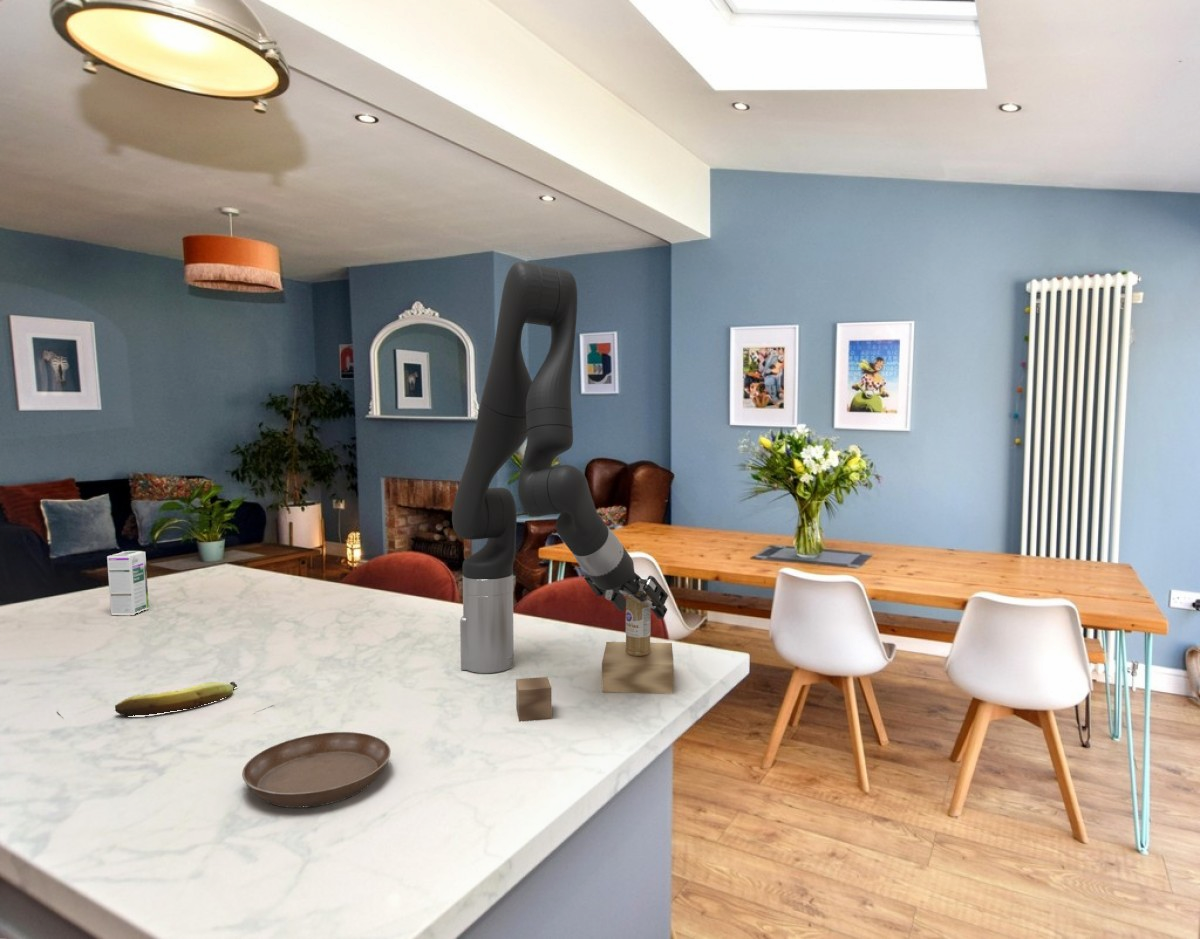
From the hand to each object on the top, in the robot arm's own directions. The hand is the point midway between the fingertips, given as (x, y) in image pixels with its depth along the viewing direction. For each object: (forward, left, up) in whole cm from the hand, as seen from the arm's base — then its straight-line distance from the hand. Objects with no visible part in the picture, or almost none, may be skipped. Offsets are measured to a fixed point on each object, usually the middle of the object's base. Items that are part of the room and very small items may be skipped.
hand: (642, 610), depth 132 cm
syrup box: (-123, +37, -12) cm, 129 cm away
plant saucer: (-41, -40, -13) cm, 59 cm away
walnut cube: (-17, -17, -12) cm, 27 cm away
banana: (-74, -17, -13) cm, 77 cm away
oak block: (-1, -1, -12) cm, 12 cm away
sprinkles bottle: (-1, -1, -7) cm, 8 cm away
